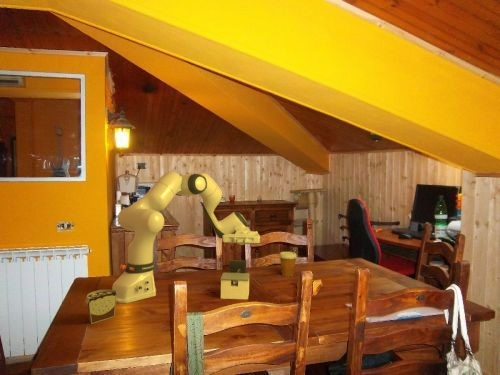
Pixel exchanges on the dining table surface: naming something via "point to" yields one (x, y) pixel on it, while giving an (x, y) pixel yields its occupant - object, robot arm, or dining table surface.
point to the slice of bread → (316, 286)
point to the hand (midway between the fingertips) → (240, 241)
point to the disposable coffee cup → (287, 263)
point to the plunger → (237, 267)
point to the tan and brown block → (101, 305)
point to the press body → (235, 286)
